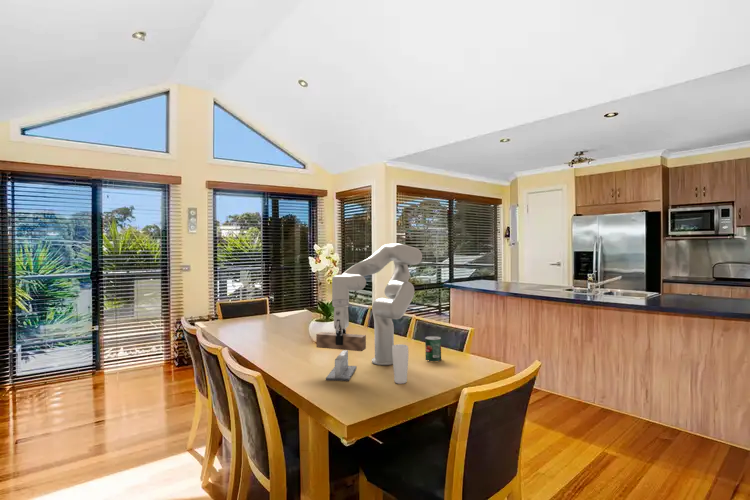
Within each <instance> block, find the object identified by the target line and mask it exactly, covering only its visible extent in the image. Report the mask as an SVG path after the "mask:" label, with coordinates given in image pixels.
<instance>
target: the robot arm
mask: <svg viewBox="0 0 750 500" xmlns="http://www.w3.org/2000/svg"><path fill="white" fill-rule="evenodd" d="M422 260H423V253H422V251H421V250H420V249H419V248H417V247H414V246H410V245H406V244H402V243H385V244H383V245H382V246H380V248H378V249H377V250H376V251H374V253H373V254H371V255H370V256H368V258H366V259H364V260H361V261H359V262H358V263H355V264H354V265H352V266H350V267H349V268H348V269H346V270H345V271H344V272H343V273H342V274H337V275H333V276H332V277H331V279H332V280H331V287H332V288H331V289H332V290H331V293H332V294H331V297H332V298H331V299H332V301H331V303H332V307H334V308H333V328H334V329H335V333H336V345H343V336H342V333H343V334H347V328H348V327H349V326H350V324H349V323H350V322H349V321H350V318H349V307H350V291H355V292H357V291H358V292H359V291H361V290H363V289H364V288H366V285H367V280H366V278H365V277H367V276H371V275H374V274H378V273H379V272H380V271H382V270H383V269H384V268H385V267H387V265H388V264H389V263H390V262H392V261H393V265H394V272H393V273H392V275H391V277H390V279H389V280H388V282H387V284H386V285H385V288H384V296H386V297H378V298H376V299H374V301H372V305H371V312H372V315H373V322H374V323H373V324H374V325H373V326H374V327H373V328H374V329H373V330H374V357H373V358H372V359H371V363H372V364H374V365H377V366H393V358H392V346H393V345H395V341H394V340H395V338H394V335H395V333H394V332H395V331H394V330H395V328H394V322H393V320H400V319H401V318H402V317H403V316H404V315H405V313H406V312H407V310H408V308H409V307H410V304H411V303H412V301H413V298H414V295H415V286H414V285H413V284H412V282H410V281H409V280H410V276H411V273H410V269H409V265H410V266H415V265H418V264H420V263H421V262H422Z"/></svg>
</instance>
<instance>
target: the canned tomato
mask: <svg viewBox="0 0 750 500" xmlns="http://www.w3.org/2000/svg"><path fill="white" fill-rule="evenodd" d="M424 341H425V346H424V347H425V349H424V350H425V352H424V353H425V361H426V360H429V361H428V362H430V361H438V362H440V361H439V360H441V361H442V338H441V336H437V335H429V336H425V337H424Z"/></svg>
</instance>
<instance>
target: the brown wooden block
mask: <svg viewBox="0 0 750 500" xmlns="http://www.w3.org/2000/svg"><path fill="white" fill-rule="evenodd" d="M342 336H343V345H336V332H330V331H329V332H326V331H320V332H318V333H316V340H315V341H316V342H315V343H316V345H315V347H316V348H320V349H329V350H339V351H340V350H341V351H343V350H348V351H353V352H363V351H364V350H366V349H367V346H366V345H367V344H366V343H367V341H366V340H367V336H366V334H353V333H346V334H343V333H342Z"/></svg>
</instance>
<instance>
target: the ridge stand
mask: <svg viewBox="0 0 750 500" xmlns="http://www.w3.org/2000/svg"><path fill="white" fill-rule="evenodd" d="M356 370H357V365H349V350H341V352H340V353H339V354H338V356H337V357H336V358H335V359H334V367H333V368H332V369H331V371H330V372H329V374H327V376H326V377H325V381H330V382H331V381H333V382H334V381H335V382H339V381H340V382H349V381H350V380H351V378H352V376H353V375H354V373H355V372H356Z"/></svg>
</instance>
